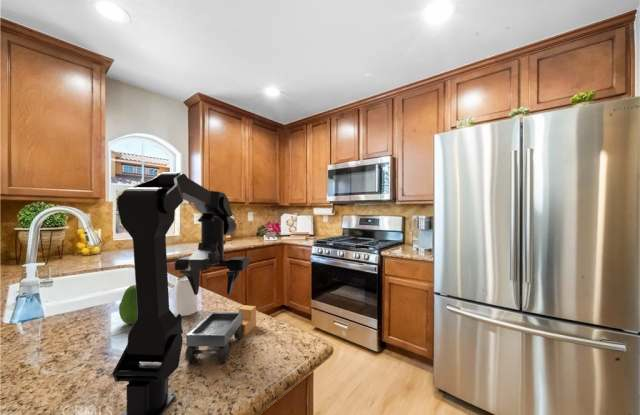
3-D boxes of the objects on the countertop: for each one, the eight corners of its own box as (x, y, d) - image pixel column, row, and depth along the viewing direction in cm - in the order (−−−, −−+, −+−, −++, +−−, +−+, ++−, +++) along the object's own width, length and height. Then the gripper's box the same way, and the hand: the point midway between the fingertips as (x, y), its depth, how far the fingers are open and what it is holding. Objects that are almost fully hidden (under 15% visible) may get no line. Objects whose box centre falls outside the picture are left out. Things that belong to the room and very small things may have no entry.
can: (188, 317, 85) (188, 281, 85) (171, 316, 86) (171, 280, 86) (201, 309, 91) (201, 276, 91) (185, 308, 93) (185, 275, 93)
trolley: (223, 365, 59) (223, 336, 59) (184, 365, 59) (184, 336, 59) (243, 334, 73) (243, 311, 73) (212, 334, 74) (212, 311, 74)
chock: (244, 324, 80) (244, 305, 80) (256, 326, 79) (256, 306, 79) (232, 333, 74) (232, 312, 74) (245, 335, 73) (245, 314, 73)
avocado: (114, 330, 76) (113, 289, 76) (126, 319, 84) (126, 282, 84) (145, 327, 78) (144, 287, 78) (154, 316, 86) (154, 280, 86)
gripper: (160, 241, 64) (160, 304, 64) (234, 241, 63) (234, 306, 63) (186, 236, 75) (186, 290, 75) (249, 236, 74) (249, 291, 74)
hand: (212, 294), depth 71 cm, fingers open, 9 cm apart
